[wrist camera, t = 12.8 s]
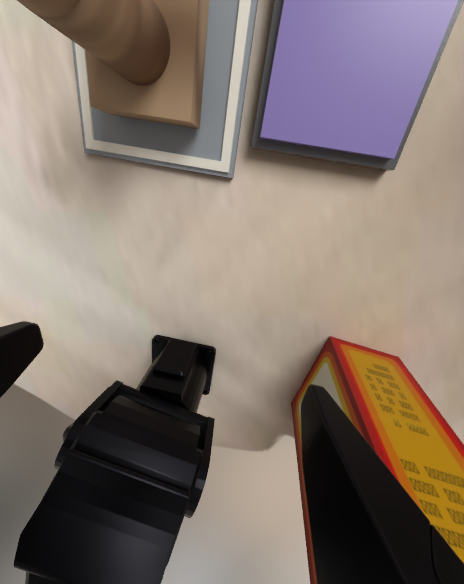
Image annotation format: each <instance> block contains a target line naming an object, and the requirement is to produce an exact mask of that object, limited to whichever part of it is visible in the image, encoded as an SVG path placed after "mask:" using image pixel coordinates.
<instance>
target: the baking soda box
mask: <svg viewBox="0 0 464 584" xmlns="http://www.w3.org/2000/svg"><path fill="white" fill-rule="evenodd" d="M310 384H315V385H319V386H323V387H324V388H325V389H326V390H327V391H328V393H329V394H330V395H331V397H332V398H333V399H334V400H335V402H336V403H337V404H338V405H339V407H340V408H341V409H342V410H343V412H344V413H345V414H346V416H347V417H348V418H349V419H350V421H351V422H352V423H353V424H354V426H355V427H356V428H357V429H358V431H359V432H360V433H361V434H362V436H363V437H364V438H365V440H366V441H367V442H368V443H369V445H370V446H371V447H372V448H373V450H374V451H375V452H376V453H377V455H378V456H379V457H380V458H381V460H382V461H383V462H384V464H385V465H386V466H387V467H388V469H389V470H390V471H391V472H392V474H393V475H394V476H395V477H396V479H397V480H398V481H399V483H400V484H401V485H402V486H403V488H404V489H405V490H406V491H407V493H408V494H409V495H410V496H411V498H412V499H413V500H414V501H415V503H416V504H417V505H418V507H419V508H420V509H421V510H422V512H423V513H424V514H425V515H426V517H427V518H428V519H429V521H430V525H433V526H434V527H435V528H436V529H437V530H438V532H439V533H440V534H441V535H442V537H443V538H444V539H445V540H446V542H447V543H448V544H449V545H450V547H451V548H452V549H453V550H454V552H455V553H456V554H457V555H458V557H459V558H460V559H461V560H462V562H463V563H464V445H463V443H462V442H461V441H460V439H459V438H458V437H457V435H456V434H455V432H454V431H453V430H452V428H451V427H450V426H449V424H448V423H447V422H446V420H445V419H444V418H443V416H442V415H441V414H440V412H439V411H438V410H437V408H436V407H435V406H434V404H433V403H432V401H431V400H430V399H429V397H428V396H427V395H426V393H425V392H424V391H423V389H422V388H421V387H420V385H419V384H418V383H417V381H416V380H415V379H414V377H413V376H412V375H411V373H410V372H409V371H408V369H407V368H406V366H405V365H404V364H403V362H402V361H401V360H400V358H399V357H397V356H393V355H390V354H387V353H383V352H380V351H377V350H373V349H370V348H367V347H364V346H360V345H357V344H354V343H350V342H347V341H344V340H341V339H337V338H334V337H331V336H329V338H328V340H327V342H326V343H325V345H324V347H323V349H322V350H321V352H320V354H319V356H318V357H317V359H316V361H315V363H314V364H313V366H312V368H311V370H310V371H309V373H308V375H307V377H306V378H305V380H304V382H303V384H302V385H301V387H300V389H299V391H298V392H297V394H296V396H295V398H294V399H293V401H292V403H291V406H292V416H293V425H294V435H295V444H296V453H297V462H298V472H299V480H300V491H301V500H302V509H303V519H304V528H305V537H306V546H307V556H308V566H309V575H310V584H317V578H316V570H315V562H314V554H313V546H312V538H311V530H310V522H309V514H308V506H307V499H306V491H305V483H304V475H303V465H302V443H301V403H302V400H303V397H304V395H305V393H306V390H307V388H308V386H309V385H310Z"/></svg>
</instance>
